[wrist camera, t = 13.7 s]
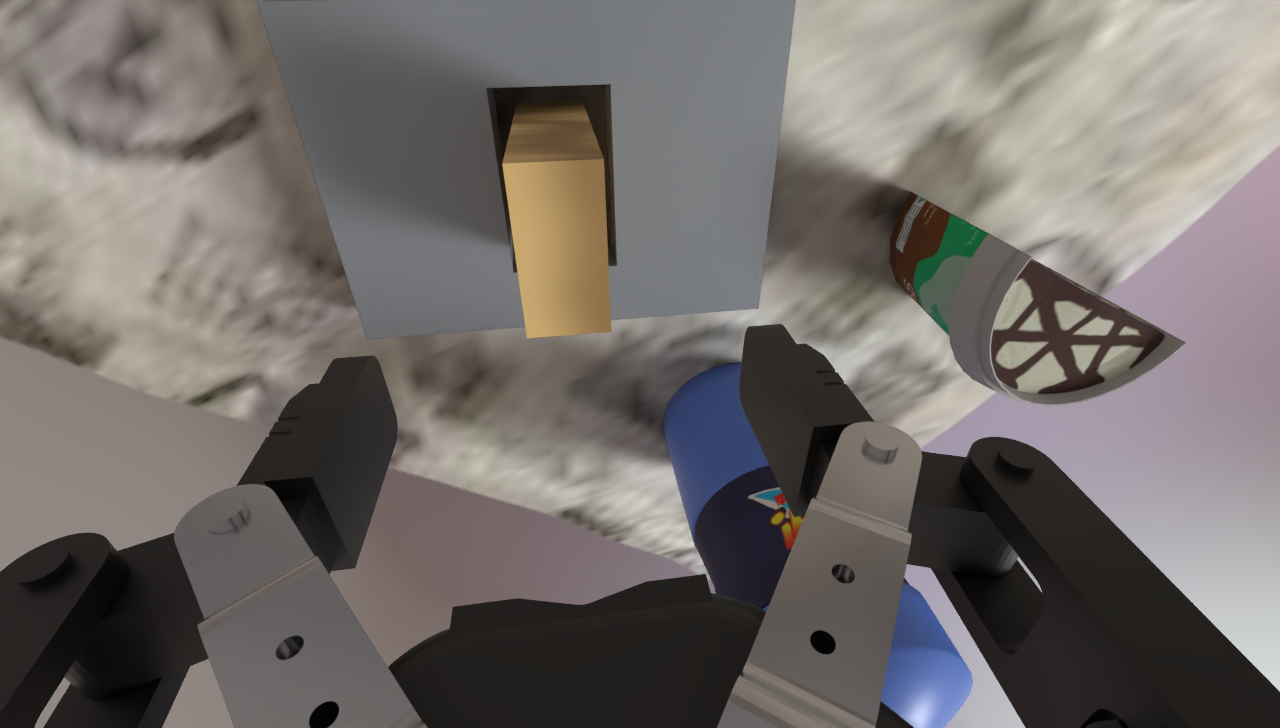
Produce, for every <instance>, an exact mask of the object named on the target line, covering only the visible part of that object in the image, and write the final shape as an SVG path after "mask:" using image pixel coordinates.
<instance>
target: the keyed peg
mask: <svg viewBox="0 0 1280 728" xmlns="http://www.w3.org/2000/svg"><path fill="white" fill-rule="evenodd" d="M502 165H503V172H504V179H505V186H506V193H507V200H508V208H509V215H510V222H511V229H512V236H513V243H514V250H515V257H516V264H517V271H518V279H519V286H520V293H521V300H522V307H523V314H524V321H525V328H526V335H527V338H538V337H550V336H563V335H575V334H588V333H600V332H611V313H610V290H609V266H608V243H607V220H606V196H605V173H604V158H603V155H602V153H601V150H600V147H599V144H598V142H597V139H596V136H595V133H594V131H593V128H592V125H591V122H590V120H589V117H588V114H587V111H586V109H585V106H584V103H583V101H558V102H527V103H517V104H516V108H515V112H514V117H513V121H512V125H511V129H510V133H509V138H508V142H507V146H506V150H505V154H504V159H503V163H502Z"/></svg>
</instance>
